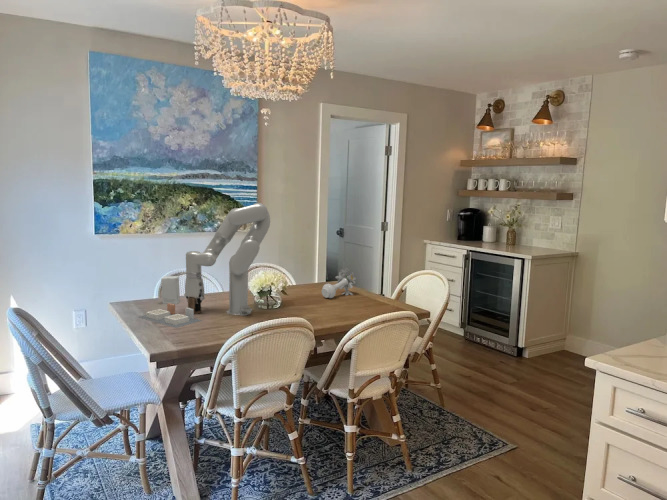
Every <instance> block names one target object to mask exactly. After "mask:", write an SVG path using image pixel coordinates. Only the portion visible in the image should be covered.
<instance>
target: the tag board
mask: <svg viewBox="0 0 667 500" xmlns="http://www.w3.org/2000/svg"><path fill="white" fill-rule="evenodd" d="M138 318H140V319H143V320H147V321H150V322H152V323H153V322H154V323H156V324H161V325H165V326H168V327H171V328H174V329H177V328H180V327H185V326H187V325H192V324H195V323H199V322H202V321H203V320H202V319H199V318H194V319H192V320H191V319H189V317H188V316H186V314H185V315H184V314H179V313H176V312H175V314H174V315H172V314H170V312H169V311H167V310H164V309H161V308H158V309H154V310H149V311H146V313H145V315H144V314H143V315H139V316H138Z"/></svg>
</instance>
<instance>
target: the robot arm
mask: <svg viewBox="0 0 667 500" xmlns="http://www.w3.org/2000/svg"><path fill="white" fill-rule="evenodd" d="M251 223H252V224H251ZM248 224H251V226H250V229H249V230H248V232H247V233H246V235H245V236H244V238H242V240H241V242H240V245H239V247H238V249H237V251H236V252H235V253H234V254H233V255H232V256H231V257H230V258H229V261H228V266H229V268H228V271H229V273H228V274H229V275H228V276H229V277H228V278H229V280H228V281H229V283H228V284H229V287H228V288H229V297H228V300H229V302H228V303H229V305H228V306H229V307H228V308H229V309H228V310H226V314H228V315H234V316H241V317H244V316H245V317H246V316H248V315H250V314H251V313H252V311H253V309H252V308H250V305H248V304H249V303H248V302H249V300H248V299H249V297H248V296H249V295H248V294H249V293H248V292H249V287H248V286H249V269H250V267H251V265H252V264H253V262H254V261H255V259H256V257H257V256H258V255H259V252H260V245H261V244H262V242H263V240H264V239H265V237H266V234H267V233H268V231H269V228H270V225H271V217H270V213H269V210H268V208H267V206H266V205H265V204H263V203H261V202H255V203H253V204H252V205H248V206H243V207H239V208H238V207H234V208H232V209H231V210H230V211H229V212H228V213H227V215H226V217H225V218H224V220H223V221H222V222H221V224H220V225H219V228H218V229H217V230H216V232H215V233H214V236H213V238H212V239H211V240H210V242H209V244H208V245H207V246H206V248H205V249H204V251H203V252H200V251H198V250H197V251H196V250H192V251H191V250H190V251H187V252H186V253H185V273H186V274H185V276H186V277H185V282H184V283H185V284H184V297H185V298H186V300H187V301H186V302H187V303H188V297H192V298H195V301H196V304H195V311H196V312H197V311H200V310H201V311H202V302H203V301H204V300H205V286H204V285H205V284H204V279H203V278H202V276H203V275H202V267H213V266H214V265H215V264H216V262H217V259H218V257H219V256H220V254H221V253H222V251H223V250H224V248H225V247H226V246H227V245H228V244H229V243H230V242H231V241H232V240H233V238H234V236H235V235H236V233H237V232H238V231H239V229H240V227H241V226H243V225H244V226H245V225H248ZM198 299H199V300H198Z"/></svg>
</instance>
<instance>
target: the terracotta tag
mask: <svg viewBox="0 0 667 500" xmlns="http://www.w3.org/2000/svg"><path fill="white" fill-rule="evenodd" d="M166 305H167V306H166V307H167V309H166V311H169V312H170V314H172V315H174V314H175V313H176V304H171V303H168V304H166Z"/></svg>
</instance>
